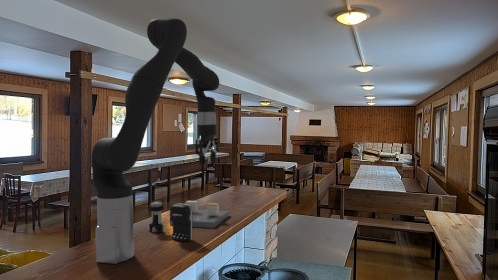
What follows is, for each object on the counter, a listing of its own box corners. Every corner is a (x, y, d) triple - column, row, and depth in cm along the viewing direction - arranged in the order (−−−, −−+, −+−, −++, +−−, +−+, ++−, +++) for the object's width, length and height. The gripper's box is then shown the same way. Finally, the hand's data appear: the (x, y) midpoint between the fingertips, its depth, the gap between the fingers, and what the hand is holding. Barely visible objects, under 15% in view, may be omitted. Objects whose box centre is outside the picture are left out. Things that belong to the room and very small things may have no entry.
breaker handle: (216, 215, 135) (216, 204, 134) (206, 215, 136) (206, 204, 135) (219, 214, 137) (218, 203, 137) (209, 213, 138) (208, 202, 138)
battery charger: (168, 240, 113) (167, 204, 113) (175, 237, 117) (175, 202, 116) (186, 243, 110) (185, 206, 110) (193, 239, 114) (193, 204, 113)
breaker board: (213, 228, 127) (213, 210, 127) (169, 225, 131) (169, 207, 131) (228, 215, 144) (228, 199, 144) (189, 213, 148) (189, 198, 148)
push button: (142, 232, 123) (141, 203, 122) (153, 228, 128) (152, 200, 127) (157, 234, 120) (156, 205, 119) (167, 230, 124) (167, 202, 124)
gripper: (205, 123, 134) (207, 166, 135) (223, 123, 147) (224, 162, 148) (188, 124, 137) (190, 166, 138) (207, 123, 150) (208, 161, 151)
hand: (207, 164), depth 143 cm, fingers open, 8 cm apart
